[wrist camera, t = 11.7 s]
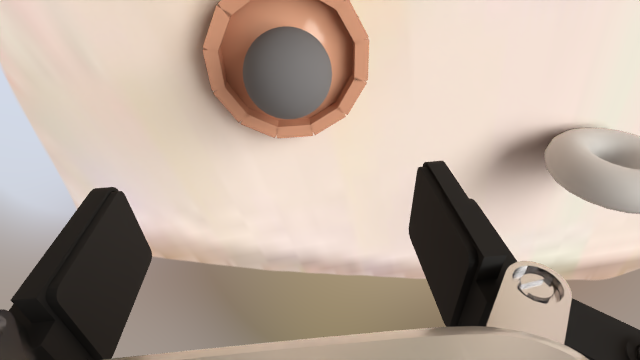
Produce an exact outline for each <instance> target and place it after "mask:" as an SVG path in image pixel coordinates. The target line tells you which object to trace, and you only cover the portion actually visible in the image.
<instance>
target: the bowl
mask: <svg viewBox="0 0 640 360" xmlns="http://www.w3.org/2000/svg"><path fill="white" fill-rule="evenodd" d="M283 26H290V27H296V28H299V29H302V30H304V31H307V32H308V33H310V34H312V35H313V36H314V37H315V38H317V39H318V40H319V41H320V43H321V44H322V45H323V47H324V48H325V50H326V52H327V54H328V56H329V59H330V62H331V67H332V81H331V86H330V89H329V92H328V94H327V97H326V98H325V100H324V101H323V103H322V104H321V105H320V106H319V107H318V108H317V109H316V110H315V111H313V112H312V113H310V114H308V115H306V116H304V117H301V118H297V119H280V118H276V117H273V116H271V115H269V114H267V113H265V112H264V111H262V110H261V109H260V108H258V107H257V106H256V104H255V103H254V102H253V101H252V99H251V98H250V96H249V95H248V93H247V90H246V88H245V84H244V80H243V63H244V59H245V55H246V53H247V51H248V49H249V47H250V46H251V44H252V43H253V42H254V41H255V39H256V38H257V37H259V36H260V35H261V34H263V33H264V32H266V31H268V30H270V29H273V28H277V27H283ZM203 48H204V49H203V54H204V59H205V63H206V68H207V72H208V76H209V81H210V85H211V89H212V91H214V92H213V94H214V95H215V96H216V97H217V98H218V99H219V101H220V102H221V103H222V104H223V105H224V106H225V107H226V109H227V110H228V111H229V112H230V113H231V114H232V115H233V117H234V118H235V119H236V120H237V121H238V122H240V121H241V124H242V125H244V126H247V127H249V128H252V129H254V130H257V131H259V132H262V133H264V134H266V135H269V136H271V137H274V138H275V137H276V135H277V138H289V137H303V136H313V133H314V134H315V135H316V134H318V133H319V132H321V131H323V130H324V129H326V128H328V127H329V126H331V125H333V124H334V123H336V122H338V121H339V120H341V119H343V118H344V117H346V116H345V114H347V115H348V113H349V112H350V110H351V108H352V107H353V105H354V103H355V102H356V100H357V98H358V97H359V95H360V93H361V92H362V90H363V88H364V87H365V85H366V83H367V82H366V80H368V58H369V39H368V35H367V33H366V31H365V29H364V27H363V25H362V24H361V22H360V20H359V18H358V16H357V14H356V12H355V10H354V8H353V6H352V4H351V3H350V1H349V0H220V2H219V3H218V4H217V5H216V8H215V11H214V14H213V17H212V20H211V23H210V26H209V29H208V32H207V35H206V39H205V42H204V45H203Z"/></svg>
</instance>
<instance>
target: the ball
mask: <svg viewBox="0 0 640 360" xmlns="http://www.w3.org/2000/svg"><path fill="white" fill-rule="evenodd" d="M243 80H244V84H245V88H246V90H247V93H248V95H249V96H250V98H251V99H252V101H253V102H254V103H255V104H256V106H257V107H258V108H260V109H261V110H262V111H264V112H265V113H267V114H269V115H271V116H273V117H276V118H280V119H297V118H301V117H304V116H306V115H308V114H310V113H312V112H313V111H315V110H316V109H317V108H318V107H319V106H320V105H321V104H322V103H323V101H324V100H325V98H326V97H327V94H328V92H329V89H330V86H331V81H332V67H331V62H330V59H329V56H328V54H327V52H326V50H325V48H324V47H323V45H322V44H321V43H320V41H319V40H318V39H317V38H315V37H314V36H313V35H312V34H310V33H308V32H307V31H304V30H302V29H299V28H296V27H290V26H283V27H277V28H273V29H270V30H268V31H266V32H264V33H263V34H261V35H260V36H259V37H257V38H256V39H255V41H254V42H253V43H252V44H251V46H250V47H249V49H248V51H247V53H246V55H245V59H244V63H243Z"/></svg>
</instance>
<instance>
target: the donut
mask: <svg viewBox="0 0 640 360" xmlns="http://www.w3.org/2000/svg"><path fill="white" fill-rule="evenodd" d="M544 158H545V163H546V168H547V170H548V172H549V173H550V174H551V175H552V177H553V178H554V179H555V181H556V182H557V183H558V184H560V185H561V186H562V187H564V188H565V189H566V190H567V191H569V192H570V193H572V194H574V195H576V196H578V197H580V198H582V199H584V200H586V201H588V202H590V203H593V204H596V205H599V206H602V207H604V208H607V209H612V210H616V211H621V212H625V213H636V214H640V136H638V135H634V134H631V133H627V132H623V131H619V130H612V129H606V128H578V129H571V130H568V131H566V132H564V133H561V134H559V135H557V136H556V137H554V138H553V139H552V141H551V142H550V143H549V145H548V147H547V148H546V150H545V153H544Z"/></svg>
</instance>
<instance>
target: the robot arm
mask: <svg viewBox="0 0 640 360" xmlns="http://www.w3.org/2000/svg"><path fill="white" fill-rule="evenodd" d="M409 235H410V239H411V241H412V244H413V246H414V249H415V251H416V254H417V256H418V259H419V261H420V264H421V266H422V269H423V271H424V274H425V276H426V279H427V281H428V284H429V286H430V289H431V291H432V294H433V296H434V299H435V301H436V304H437V306H438V309H439V311H440V314H441V316H442V319H443V321H444V323H445V325H446V327H438V328H425V329H412V330H398V331H387V332H376V333H365V334H354V335H344V336H334V337H323V338H312V339H301V340H291V341H281V342H271V343H260V344H251V345H241V346H231V347H220V348H210V349H201V350H190V351H181V352H171V353H162V354H152V355H142V356H133V357H123V358H114V359H111V358H112V356H113V354H114V352H115V349H116V347H117V344H118V342H119V339H120V337H121V334H122V332H123V329H124V327H125V324H126V322H127V319H128V317H129V314H130V312H131V310H132V307H133V305H134V302H135V300H136V297H137V294H138V292H139V289H140V287H141V285H142V282H143V280H144V277H145V275H146V272H147V270H148V267H149V265H150V262H151V259H152V253H151V249H150V247H149V245H148V243H147V241H146V239H145V236H144V234H143V232H142V230H141V228H140V226H139V224H138V222H137V220H136V217H135V215H134V213H133V211H132V209H131V207H130V205H129V203H128V201H127V199H126V196H125V194H124V193H123V192H122V191H118V189H116V188H115V187H108V188H95V189H93V190H92V191H91V192H90V193H89V194H88V196H87V197H86V198H85V200H84V201H83V203H82V204H81V205H80V207H79V208H78V209H77V211H76V212H75V213H74V215H73V216H72V218H71V219H70V220H69V222H68V223H67V224H66V226H65V227H64V228H63V230H62V231H61V233H60V234H59V235H58V237H57V238H56V239H55V241H54V242H53V243H52V245H51V246H50V247H49V249H48V250H47V251H46V253H45V254H44V256H43V257H42V258H41V260H40V261H39V262H38V264H37V265H36V266H35V268H34V269H33V270H32V272H31V273H30V275H29V276H28V277H27V279H26V280H25V281H24V283H23V284H22V285H21V287H20V288H19V290H18V291H17V292H16V294H15V295H14V296H13V298H12V299H11V301H12V302H13V303H14V304H13V306H12V308H11V309H10V310H9V311H7V310H0V360H640V330H638V329H636V328H634V327H632V326H630V325H628V324H626V323H624V322H621V321H619V320H617V319H615V318H613V317H611V316H609V315H606V314H604V313H602V312H600V311H598V310H596V309H594V308H592V307H589V306H587V305H585V304H583V303H581V302H579V301H577V300H575V299H572V293H571V289H570V287H569V285H568V283H567V282H566V281H565V280H564V278H563V277H562V276H561V275H559V274H558V273H557V272H555V271H554V270H553V269H551V268H549V267H547V266H545V265H543V264H539V263H536V262H530V261H521V262H517V260H516V259H515V258H514V256H513V255H512V253H511V252H510V250H509V249H508V247H507V246H506V245H505V243H504V242H503V240H502V239H501V237H500V236H499V234H498V233H497V232H496V230H495V229H494V227H493V226H492V224H491V223H490V221H489V220H488V219H487V217H486V216H485V214H484V213H483V211H482V210H481V208H480V207H479V206H478V204H477V203H476V202H475V201H474V200H473V199H469V198H468V196H467V195H466V193H465V192H464V190H463V189H462V188H461V186H460V185H459V183H458V182H457V180H456V179H455V177H454V176H453V174H452V173H451V171H450V170H449V168H448V167H447V165H446V164H445V163H444V161H434V162H425V163H424V164H423V167H419V168H418V170H417V176H416V183H415V190H414V196H413V203H412V210H411V216H410V223H409Z"/></svg>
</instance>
